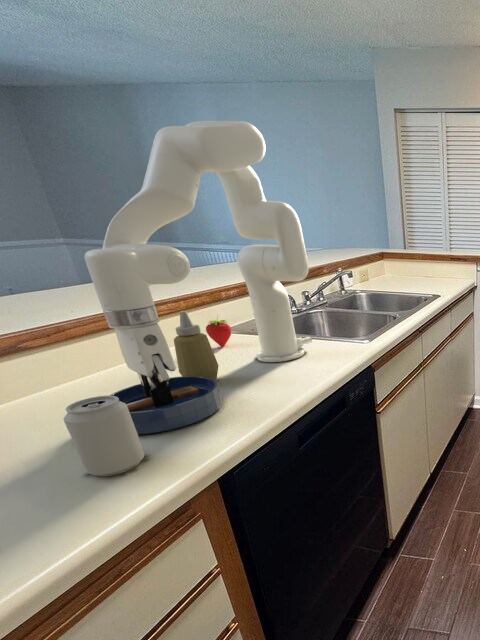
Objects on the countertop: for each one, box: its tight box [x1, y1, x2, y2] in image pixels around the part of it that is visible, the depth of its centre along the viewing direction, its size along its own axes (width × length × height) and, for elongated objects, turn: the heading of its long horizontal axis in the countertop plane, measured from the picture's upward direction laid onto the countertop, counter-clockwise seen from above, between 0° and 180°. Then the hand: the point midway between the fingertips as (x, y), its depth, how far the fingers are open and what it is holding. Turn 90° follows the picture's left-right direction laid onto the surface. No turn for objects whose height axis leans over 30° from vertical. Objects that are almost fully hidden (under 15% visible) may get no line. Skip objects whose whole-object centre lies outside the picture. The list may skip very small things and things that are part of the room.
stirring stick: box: [126, 386, 199, 412], centre depth 87 cm, size 14×3×2 cm, turn 150°
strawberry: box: [205, 315, 232, 347], centre depth 131 cm, size 6×8×10 cm
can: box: [62, 395, 146, 477], centre depth 69 cm, size 8×8×12 cm
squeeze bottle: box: [173, 310, 220, 382], centre depth 102 cm, size 8×8×18 cm
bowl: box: [108, 375, 223, 435], centre depth 88 cm, size 19×19×5 cm
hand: (161, 403), depth 87 cm, fingers closed on stirring stick, 2 cm apart
